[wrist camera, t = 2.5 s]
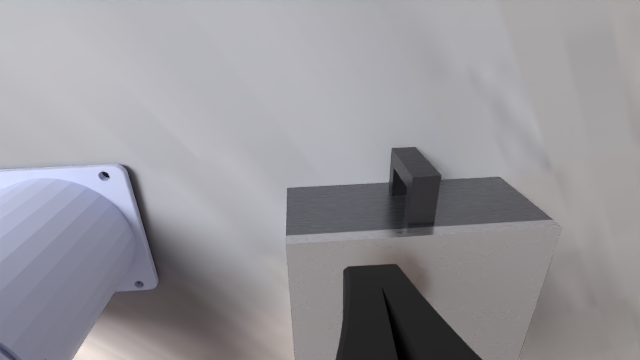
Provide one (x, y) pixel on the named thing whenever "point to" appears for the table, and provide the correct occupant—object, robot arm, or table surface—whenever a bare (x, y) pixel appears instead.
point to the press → (420, 253)
